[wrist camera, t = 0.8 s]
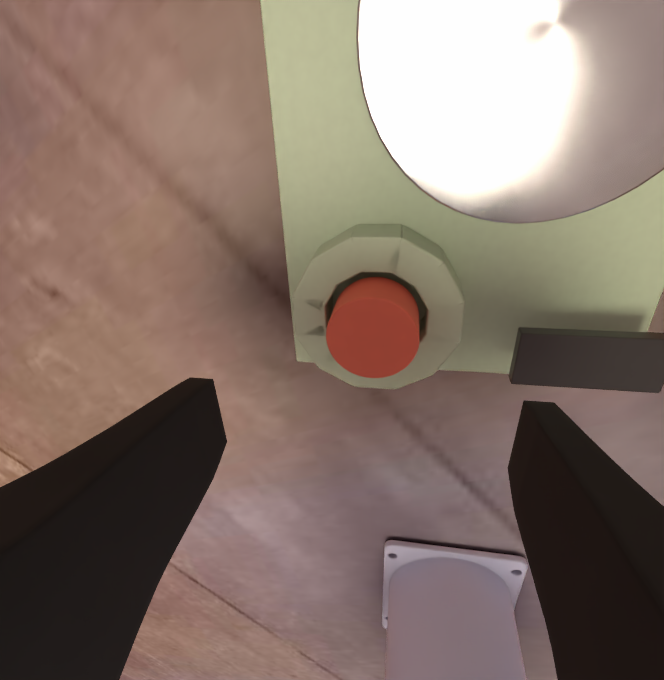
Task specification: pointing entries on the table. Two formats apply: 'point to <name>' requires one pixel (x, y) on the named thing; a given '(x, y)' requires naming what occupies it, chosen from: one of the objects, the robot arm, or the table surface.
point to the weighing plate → (526, 133)
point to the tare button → (374, 328)
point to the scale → (429, 225)
